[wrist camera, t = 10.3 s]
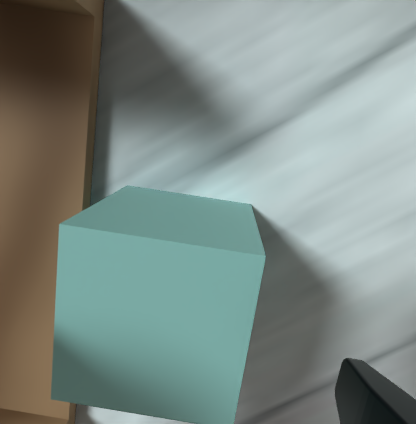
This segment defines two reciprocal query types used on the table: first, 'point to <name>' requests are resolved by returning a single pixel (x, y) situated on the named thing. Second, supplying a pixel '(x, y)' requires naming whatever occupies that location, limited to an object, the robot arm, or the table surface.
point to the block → (156, 305)
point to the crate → (41, 183)
